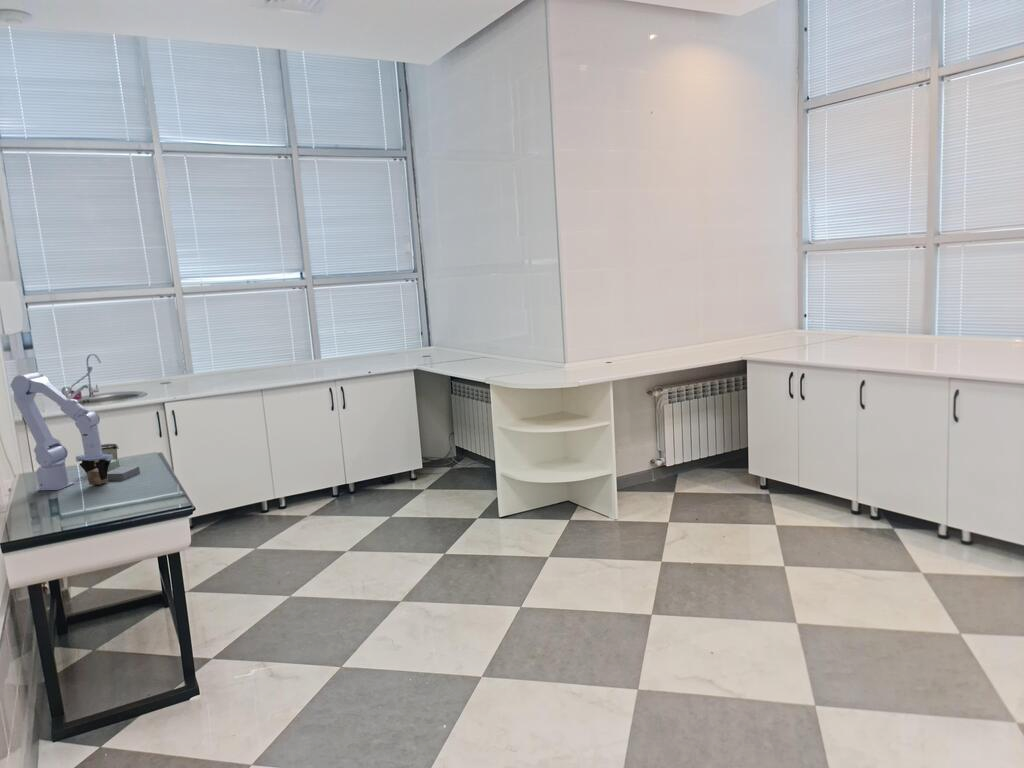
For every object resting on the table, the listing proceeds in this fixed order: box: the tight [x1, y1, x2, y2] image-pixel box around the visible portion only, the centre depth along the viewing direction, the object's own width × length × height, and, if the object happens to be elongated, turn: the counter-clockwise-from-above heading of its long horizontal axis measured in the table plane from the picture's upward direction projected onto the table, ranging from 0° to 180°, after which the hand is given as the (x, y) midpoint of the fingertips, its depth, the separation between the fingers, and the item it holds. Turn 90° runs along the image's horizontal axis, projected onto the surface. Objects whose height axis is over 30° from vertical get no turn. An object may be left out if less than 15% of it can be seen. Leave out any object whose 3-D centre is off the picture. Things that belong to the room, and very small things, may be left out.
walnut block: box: [86, 468, 109, 486], centre depth 270 cm, size 4×4×5 cm
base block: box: [107, 466, 141, 481], centre depth 279 cm, size 9×9×3 cm
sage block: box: [107, 459, 121, 472], centre depth 285 cm, size 4×4×5 cm
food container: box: [83, 443, 119, 469], centre depth 291 cm, size 12×6×10 cm, turn 130°
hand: (98, 479), depth 270 cm, fingers closed on walnut block, 4 cm apart
